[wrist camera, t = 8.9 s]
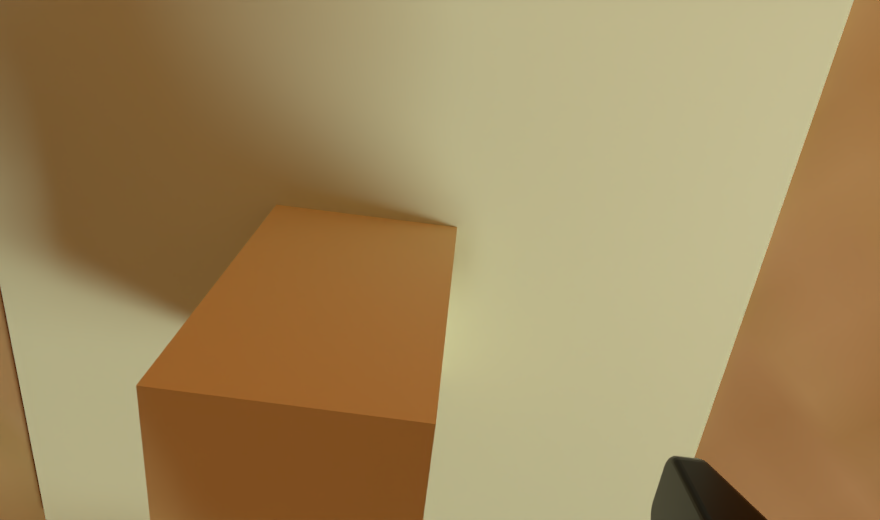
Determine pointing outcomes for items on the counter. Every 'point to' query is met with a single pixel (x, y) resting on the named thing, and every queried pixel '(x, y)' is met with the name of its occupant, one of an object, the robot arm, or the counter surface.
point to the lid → (387, 246)
